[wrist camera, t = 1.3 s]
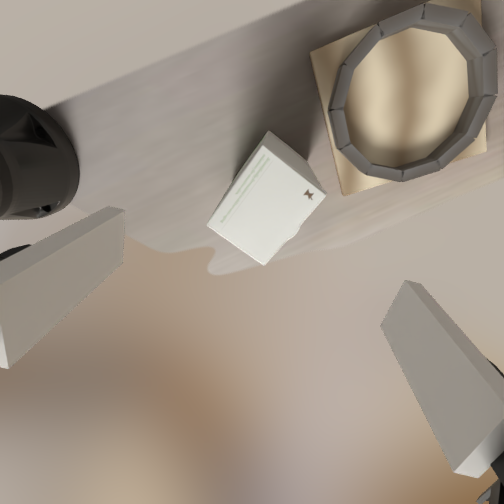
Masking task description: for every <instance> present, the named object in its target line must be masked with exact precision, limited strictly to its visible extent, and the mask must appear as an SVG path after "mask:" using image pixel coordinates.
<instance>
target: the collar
mask: <svg viewBox="0 0 504 504" xmlns="http://www.w3.org/2000/svg"><path fill="white" fill-rule="evenodd" d="M495 47H496V45H495V44H494V43H493V41H492V40H491V39H490V37H489V36H488V35H487V33H486V32H485V31H484V29H483V28H482V15H481V0H430V1H428V2H426V3H422V4H420V5H418V6H415V7H413V8H410V9H408V10H406V11H403V12H401V13H399V14H396V15H394V16H392V17H389V18H387V19H385V20H382V21H380V22H378V23H377V24H374V25H372V26H370V27H367V28H365V29H362V30H360V31H358V32H355V33H353V34H351V35H348V36H346V37H344V38H341V39H339V40H337V41H334V42H332V43H330V44H327V45H325V46H323V47H320V48H318V49H316V50H313V51H311V52H310V54H309V55H310V59H311V64H312V68H313V72H314V76H315V81H316V85H317V89H318V94H319V98H320V102H321V106H322V111H323V115H324V119H325V123H326V128H327V132H328V136H329V140H330V145H331V149H332V153H333V157H334V162H335V166H336V170H337V174H338V179H339V183H340V187H341V191H342V195H343V196H347V195H350V194H353V193H356V192H359V191H363V190H366V189H369V188H372V187H375V186H379V185H382V184H385V183H388V182H391V181H397V182H401V181H402V182H405V181H408V180H411V179H414V178H417V177H421V176H424V175H427V174H430V173H433V172H437V171H440V169H443V168H444V167H445V166H446V165H448V164H449V163H452V162H455V161H458V160H461V159H464V158H468V157H471V156H474V155H477V154H480V153H483V152H487V150H486V123H485V120H486V118H487V116H488V114H489V112H490V110H491V108H492V106H493V104H494V102H495V99H496V97H497V96H495V94H498V81H497V48H496V49H494V48H495Z"/></svg>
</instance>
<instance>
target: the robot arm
mask: <svg viewBox="0 0 504 504" xmlns="http://www.w3.org/2000/svg"><path fill="white" fill-rule="evenodd" d="M78 182H79V169H78V163H77V159H76V155H75V152H74V150H73V147H72V145H71V143H70V141H69V139H68V138H67V136H66V134H65V133H64V131H63V130H62V129H61V127H60V126H59V125H58V124H57V123H56V122H55V121H54V120H53V119H52V118H51V117H50V116H49V115H48V114H47V113H46V112H45V111H43V110H42V109H41V108H39V107H38V106H36V105H34V104H32V103H31V102H29V101H26V100H24V99H21V98H18V97H15V96H9V95H0V220H20V219H21V220H23V219H24V220H27V219H38V218H43V217H46V216H48V215H51V214H54V213H56V212H58V211H60V210H62V209H63V208H65V207H66V206H67V205H68V204H69V203H70V202H71V200H72V199H73V197H74V195H75V193H76V191H77V187H78ZM124 229H125V210H123V209H119V208H115V207H110V206H108V207H106V208H104V209H102V210H100V211H98V212H96V213H94V214H92V215H90V216H88V217H86V218H84V219H82V220H80V221H78V222H76V223H74V224H72V225H71V226H69V227H67V228H65V229H63V230H61V231H59V232H57V233H55V234H53V235H51V236H49V237H47V238H45V239H43V240H41V241H39V242H37V243H36V244H33V245H29V244H28V245H24V246H20V247H16V248H12V249H9V250H7V251H5V252H3V253H1V254H0V367H2V368H6V369H9V368H10V367H11V366H12V365H14V364H15V363H16V362H17V361H18V360H19V359H20V358H21V357H22V356H23V355H24V354H25V353H26V352H27V351H29V349H31V348H32V347H33V346H34V345H35V344H36V343H37V342H38V341H39V340H40V339H42V338H43V337H44V336H45V335H46V334H47V333H48V332H49V331H50V330H51V329H52V328H53V327H54V326H55V325H57V324H58V323H59V322H60V321H61V320H62V319H63V318H64V317H65V316H66V315H67V314H69V312H71V311H72V310H73V309H74V308H75V307H76V306H77V305H78V304H79V303H80V302H81V301H83V300H84V299H85V298H86V297H87V296H88V295H89V294H90V293H91V292H92V291H93V290H94V289H95V288H97V287H98V286H99V285H100V284H101V283H102V282H103V281H104V280H105V279H106V278H107V277H108V276H109V275H111V274H112V273H113V272H114V271H115V270H116V269H117V268H118V267H119V266H120V265H121V264H122V263H123V249H124ZM380 327H381V329H382V330H383V333H384V335H385V336H386V339H387V341H388V343H389V345H390V347H391V349H392V351H393V353H394V355H395V357H396V359H397V361H398V363H399V365H400V367H401V368H402V371H403V373H404V374H405V377H406V379H407V381H408V383H409V385H410V387H411V389H412V391H413V393H414V395H415V397H416V399H417V401H418V403H419V405H420V406H421V409H422V411H423V413H424V415H425V417H426V419H427V421H428V423H429V425H430V427H431V428H432V431H433V433H434V435H435V437H436V439H437V441H438V442H439V444H440V446H441V449H442V451H443V452H444V455H445V456H446V459H447V460H448V462H449V464H450V466H451V469H452V471H453V472H454V473H459V474H463V475H467V476H471V477H476V478H479V477H480V476H481V475H482V474H483V473H484V472H485V471H486V470H487V469H488V468H489V467H490V466H491V467H492V468H493V470H494V471H495V473H496V475H497V476H498V478H499V479H498V480H497V481H496V482H495V483H494V484H492V486H490V487H489V488H488V489H487V490H486V491H485V492H484V493H483V494H482V495H481V496H480V497H479V498H478V499H477V503H479V504H482V503H483V502H485V501H489V504H504V375H503V373H502V372H501V371H500V370H499V369H498V368H497V367H496V366H495V365H494V364H493V363H492V362H491V361H489V360H488V359H487V358H486V357H485V356H484V355H483V354H482V353H481V352H480V351H479V350H478V348H477V347H476V346H475V345H474V344H473V343H472V342H471V340H470V339H469V338H468V337H467V336H466V335H465V334H464V332H463V331H462V330H461V329H460V328H459V327H458V326H457V324H455V322H454V321H453V320H452V319H451V318H450V317H449V315H448V314H447V313H446V312H445V311H444V310H443V309H442V307H441V306H440V305H439V304H438V303H437V302H436V301H435V299H434V298H433V297H432V296H431V295H430V294H429V293H428V292H427V290H426V289H425V288H424V287H423V286H422V285H421V284H419V283H415V282H411V281H407V280H405V281H404V283H403V285H402V286H401V288H400V290H399V292H398V294H397V296H396V298H395V299H394V301H393V303H392V305H391V307H390V309H389V310H388V313H387V314H386V316H385V318H384V320H383V322H382V323H381V325H380Z"/></svg>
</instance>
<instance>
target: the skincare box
mask: <svg viewBox="0 0 504 504" xmlns="http://www.w3.org/2000/svg"><path fill="white" fill-rule="evenodd" d="M326 193H327V192H326V191H325V190H324V189H323V188H322V187H321V185H320V183H319V181H318V180H317V178H316V176H315V175H314V173H313V171H312V169H311V168H310V166H309V164H308V162H307V161H306V160H305V159H304V158H303V157H301V156H300V155H299V154H298V153H297V152H296V151H294V150H293V149H292V148H291V147H289V146H288V145H287V144H286V143H284V142H283V141H282V140H281V139H279V138H278V137H277V136H276V135H274V134H273V133H272V132H270V131H267V133H266V134H265V136H264V137H263V138H262V140H261V141H260V143H259V144H258V145H257V147H256V148H255V150H254V151H253V152H252V154H251V155H250V157H249V158H248V159H247V161H246V162H245V164H244V165H243V167H242V168H241V170H240V171H239V173H238V174H237V176H236V177H235V179H234V180H233V182H232V183H231V185H230V186H229V188H228V190H227V191H226V193H225V194H224V196H223V198H222V199H221V201H220V203H219V204H218V206H217V208H216V209H215V211H214V213H213V215H212V216H211V218H210V219H209V221H208V223H207V226H208V227H210V228H211V229H212V230H214V231H215V232H216V233H218V234H219V235H221V236H222V237H223V238H225V239H226V240H228V241H229V242H231V243H232V244H233V245H235V246H236V247H238V248H239V249H241V250H242V251H243V252H245V253H246V254H248V255H249V256H251V257H252V258H253V259H255V260H256V261H258V262H259V263H261V264H262V265H266V264H267V262H268V261H269V260H270V259H271V258H272V257H273V256H274V254H275V253H276V252H277V251H278V250H279V249H280V248H281V247H282V246H283V245H284V244H285V243H286V241H287V240H289V239H291V238H292V237H294V236H295V235H296V233H297V232H298V230H299V228H300V225H301V224H302V223H303V222H304V221H305V220H306V219H307V217H308V216H309V215H310V214H311V213H312V212H313V211H314V209H315V208H316V207H317V206H318V205H319V204H320V202H321V201H322V200H323V199H324V197H325V196H326Z"/></svg>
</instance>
